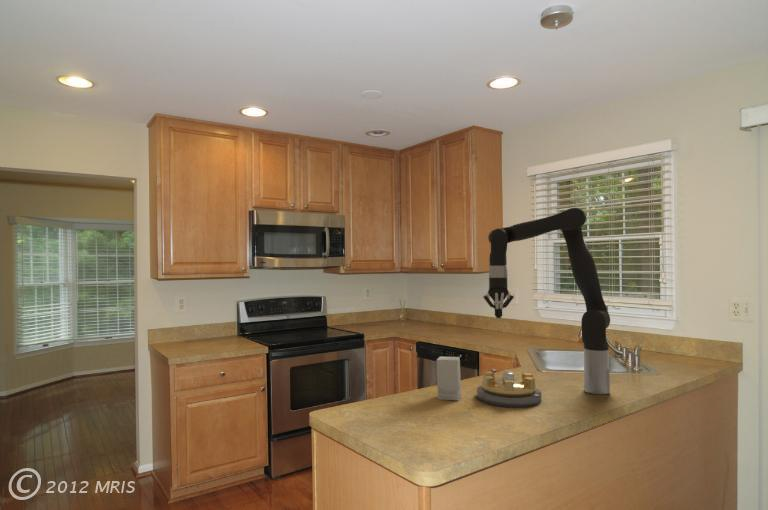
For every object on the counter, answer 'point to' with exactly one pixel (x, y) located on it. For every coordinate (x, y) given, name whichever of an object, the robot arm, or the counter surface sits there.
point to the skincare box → (448, 378)
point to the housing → (509, 399)
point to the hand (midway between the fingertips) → (498, 317)
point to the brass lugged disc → (509, 384)
